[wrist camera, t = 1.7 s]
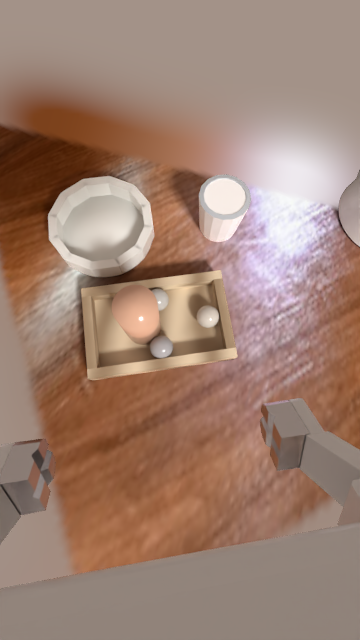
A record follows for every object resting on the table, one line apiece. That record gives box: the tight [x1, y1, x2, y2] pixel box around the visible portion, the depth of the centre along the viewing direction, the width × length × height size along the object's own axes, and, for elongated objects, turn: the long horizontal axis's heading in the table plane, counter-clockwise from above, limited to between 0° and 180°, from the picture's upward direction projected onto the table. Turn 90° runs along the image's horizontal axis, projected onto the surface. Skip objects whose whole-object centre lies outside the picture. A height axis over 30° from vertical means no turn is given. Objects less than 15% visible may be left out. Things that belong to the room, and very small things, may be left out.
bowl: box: [48, 176, 154, 278], centre depth 44 cm, size 14×14×3 cm
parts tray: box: [81, 270, 238, 380], centre depth 41 cm, size 19×12×3 cm, turn 98°
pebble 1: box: [151, 289, 169, 311], centre depth 41 cm, size 3×3×3 cm
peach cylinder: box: [112, 285, 161, 345], centre depth 37 cm, size 5×5×10 cm
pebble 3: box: [197, 305, 219, 328], centre depth 41 cm, size 3×3×3 cm
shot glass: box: [199, 175, 251, 242], centre depth 43 cm, size 7×7×7 cm
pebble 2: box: [150, 336, 173, 359], centre depth 39 cm, size 3×3×3 cm
